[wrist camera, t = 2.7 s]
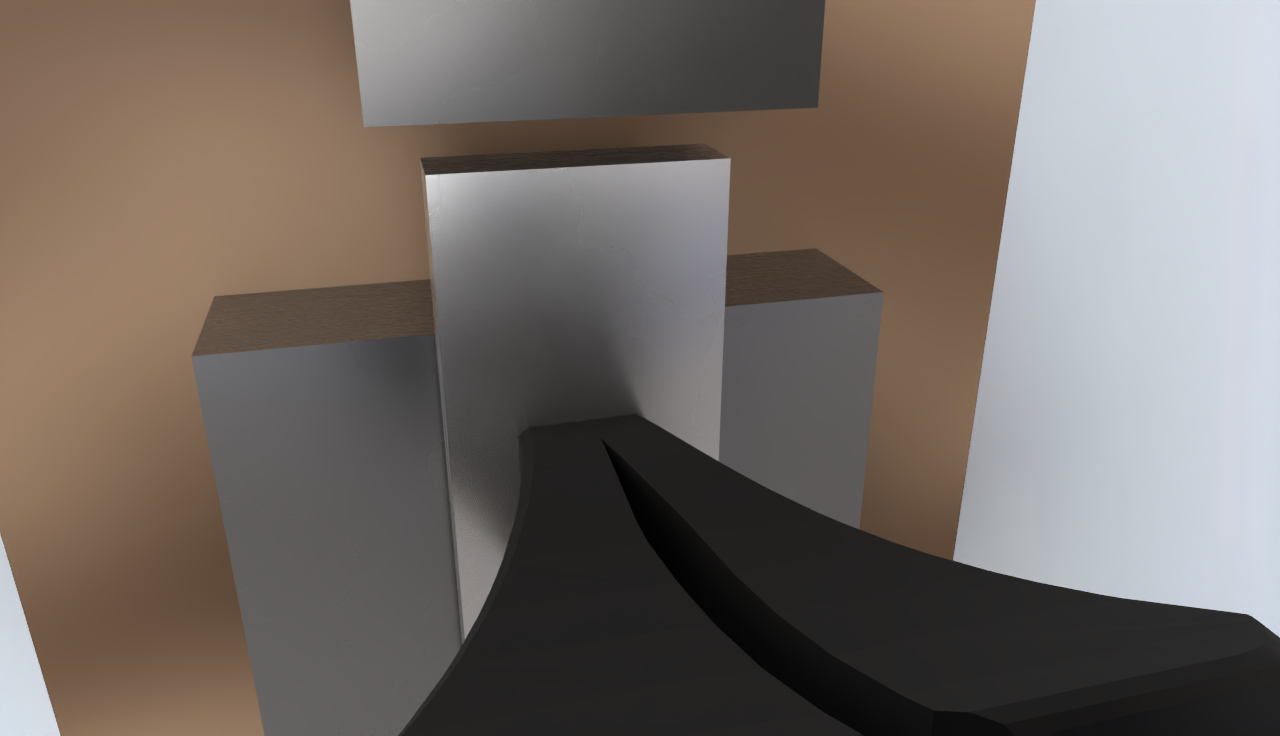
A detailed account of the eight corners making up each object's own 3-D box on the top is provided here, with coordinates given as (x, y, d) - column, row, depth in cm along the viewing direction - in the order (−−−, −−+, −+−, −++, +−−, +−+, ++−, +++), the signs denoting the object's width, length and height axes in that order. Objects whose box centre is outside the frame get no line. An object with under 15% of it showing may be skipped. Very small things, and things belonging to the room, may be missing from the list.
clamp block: (772, 843, 19) (872, 1055, 15) (330, 946, 17) (325, 1217, 13) (841, -111, 12) (1043, -134, 9) (139, -122, 10) (28, -158, 7)
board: (864, 871, 22) (897, 930, 21) (188, 1038, 19) (176, 1122, 17) (989, -135, 14) (1056, -142, 13) (-141, -160, 11) (-211, -173, 9)
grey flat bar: (680, 981, 16) (706, 1062, 15) (495, 1031, 15) (507, 1119, 14) (704, 143, 11) (748, 169, 9) (419, 158, 10) (429, 187, 9)
